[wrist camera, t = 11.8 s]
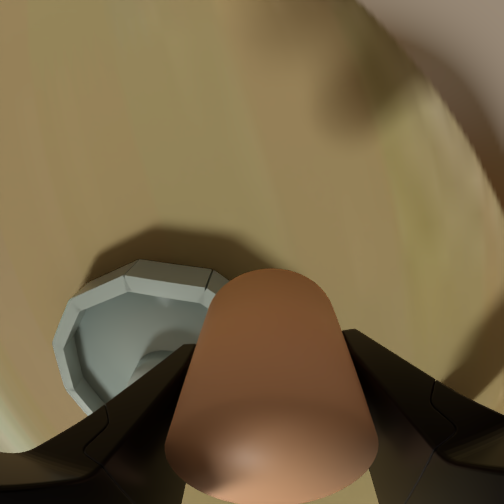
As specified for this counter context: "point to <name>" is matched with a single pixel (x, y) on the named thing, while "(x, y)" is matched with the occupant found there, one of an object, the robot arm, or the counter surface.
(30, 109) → the counter surface
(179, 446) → the brown egg
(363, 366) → the robot arm
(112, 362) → the groove tray
